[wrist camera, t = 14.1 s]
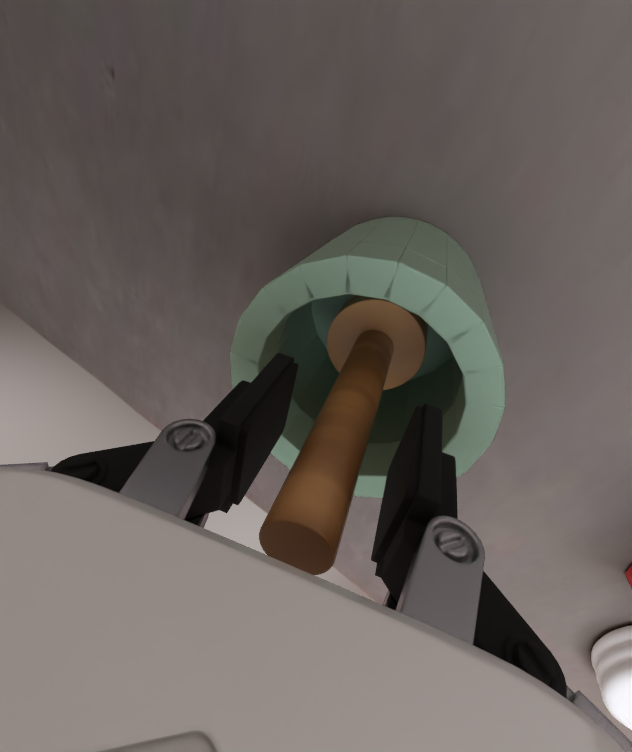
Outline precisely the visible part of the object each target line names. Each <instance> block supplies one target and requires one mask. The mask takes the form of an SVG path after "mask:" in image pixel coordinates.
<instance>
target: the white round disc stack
mask: <svg viewBox="0 0 632 752" xmlns="http://www.w3.org/2000/svg"><path fill="white" fill-rule="evenodd" d="M591 662H592V666H593V668H594V670H595V672H596V680H597V683H598V685H599V687H600V688H601V697H602V700H603V702H604V704H605V706H606V707H607V709H608V710H609V712H610V713H611V714H612V715H613V716H614V717H615V718H616V719H617V720H618V721H620V722H621V723H622V724H624V725H625V726H626V727H628V728H629V729H631V730H632V625H630V626H625V627H622V628H618V629H616V630H613V631H611V632H609V633H607V634H605V635H604V636H603V637H602V638H600V639H599V640H598V641H597V642H596V643H595V644H594V646H593V648H592V652H591Z"/></svg>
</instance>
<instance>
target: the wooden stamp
mask: <svg viewBox="0 0 632 752" xmlns="http://www.w3.org/2000/svg"><path fill="white" fill-rule="evenodd" d="M427 334H428V324H427V323H426V322H425V321H424V320H423V319H422V318H421V317H420V316H419V315H417V314H414V313H412V312H410V311H408V310H406V309H404V308H402V307H400V306H398V305H396V304H394V303H392V302H390V301H388V300H385V299H378V298H372V297H365V296H358V295H351V296H350V297H349V299H348V300H347V302H346V303H345V304H344V306H343V307H342V309H341V310H340V311H339V313H338V314H337V315H336V317H335V318H334V320H333V321H332V323H331V325H330V328H329V331H328V335H327V349H328V353H329V357H330V359H331V361H332V363H333V365H334V367H335V368H336V369H337V371H338V372H339V375H338V377H337V379H336V381H335V383H334V385H333V387H332V389H331V391H330V393H329V395H328V397H327V399H326V401H325V403H324V405H323V407H322V409H321V411H320V413H319V415H318V417H317V419H316V421H315V423H314V425H313V427H312V428H311V430H310V432H309V434H308V436H307V438H306V440H305V442H304V444H303V446H302V448H301V450H300V452H299V454H298V456H297V458H296V460H295V462H294V464H293V466H292V468H291V470H290V472H289V474H288V476H287V478H286V480H285V482H284V484H283V486H282V488H281V490H280V491H279V493H278V495H277V497H276V499H275V501H274V503H273V505H272V507H271V509H270V511H269V513H268V515H267V517H266V519H265V521H264V523H263V525H262V527H261V529H260V533H259V540H260V544H261V546H262V548H263V550H264V551H265V553H266V554H267V555H268V556H270V557H272V558H274V559H277V560H279V561H281V562H284V563H286V564H288V565H291V566H293V567H295V568H298V569H300V570H302V571H305V572H307V573H309V574H312V575H319V574H322V573H325V572H326V571H328V570H329V569H330V568H331V567H332V566H333V564H334V562H335V558H336V555H337V551H338V548H339V544H340V541H341V537H342V533H343V530H344V526H345V523H346V519H347V516H348V512H349V509H350V505H351V501H352V498H353V494H354V491H355V487H356V484H357V480H358V476H359V473H360V469H361V466H362V462H363V459H364V455H365V452H366V448H367V444H368V441H369V437H370V434H371V430H372V427H373V423H374V419H375V416H376V412H377V409H378V405H379V402H380V398H381V395H382V391H383V390H386V389H391V388H395V387H398V386H400V385H402V384H404V383H406V382H407V381H409V380H410V379H411V378H412V377H413V376H414V375H415V374H416V373H417V372H418V370H419V369H420V367H421V365H422V363H423V360H424V357H425V352H426V343H427Z"/></svg>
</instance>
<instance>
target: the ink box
mask: <svg viewBox="0 0 632 752" xmlns="http://www.w3.org/2000/svg"><path fill="white" fill-rule="evenodd" d="M625 575H626V577H627V580H628V582H629V584H630V586H631V588H632V565H631V566H630V567H629V569H628V570H627V572H625Z"/></svg>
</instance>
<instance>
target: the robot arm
mask: <svg viewBox="0 0 632 752" xmlns="http://www.w3.org/2000/svg"><path fill="white" fill-rule="evenodd" d="M297 370H298V364H297V363H294V358H293V357H290V356H287V355H284V354H281V353H277V354H276V355H275V356H274V357H273V358H272V360H271V361H270V362H269V363H268V364H267V365H266V366H265V367H264V369H263V370H262V371H261V372H260V373H259V374H258V375H257V376H256V378H255V379H254V380H253V381H252V382H251V383H250V382H247V381H245V380H242V381H241V382H239V383H238V384H237V386H236V387H235V388H234V389H233V390H232V391H231V392H230V393H229V394H228V395H227V396H226V397H225V398H224V399H223V400H222V401H221V402H220V404H219V405H218V406H217V407H216V408H215V409H214V410H213V411H212V412H211V413H210V414H209V415H208V416H207V417H206V418H205V419H204V421H200V420H196V419H182V420H178V421H174V422H172V423H171V424H169V425H167V426H166V427H165V428H164V429H163V430H162V431H161V433H160V434H159V436H158V437H157V439H156V440H155V441H153V442H147V443H142V444H136V445H130V446H124V447H118V448H112V449H107V450H101V451H95V452H89V453H84V454H79V455H75V456H72V457H69V458H67V459H65V460H62V461H61V462H59V463H58V464H57V465H55V466H54V467H49V466H48V463H47V462H44V463H28V464H8V465H0V752H632V742H631V741H630V740H629V739H628V738H627V737H626V736H625V735H624V734H623V733H622V732H621V731H620V730H619V729H618V728H617V727H616V726H615V725H614V724H613V723H612V722H611V721H610V720H609V719H608V718H607V717H606V716H605V715H604V714H603V713H602V712H601V711H600V710H599V709H598V708H597V707H596V706H595V705H594V704H593V703H592V702H590V701H589V700H588V699H587V698H586V697H585V696H584V695H583V694H582V693H581V692H580V691H577V692H575V693H574V692H573V691H572V690H571V689H570V688H569V687H568V686H567V685H566V682H565V677H564V674H563V672H562V670H561V668H560V666H559V664H558V662H557V661H556V659H555V658H554V656H553V655H552V653H551V652H550V651H549V649H548V648H547V647H546V646H545V645H544V643H543V642H542V641H541V640H540V638H539V637H538V636H537V635H536V634H535V632H534V631H533V630H532V629H531V628H530V626H529V625H528V624H527V623H526V622H525V620H524V619H523V618H522V617H521V616H520V614H519V613H518V612H517V611H516V610H515V608H514V607H513V606H512V605H511V604H510V602H509V601H508V600H507V599H506V597H505V596H504V595H503V594H502V593H501V591H500V590H499V589H498V588H497V587H496V585H495V584H494V583H493V582H492V581H491V579H490V578H489V577H488V576H487V575H486V573H485V572H484V571H483V567H484V560H485V552H484V547H483V545H482V542H481V540H480V539H479V537H478V536H477V534H476V533H475V532H474V531H473V530H472V529H471V528H470V527H469V526H468V525H466V524H465V523H463V522H462V521H460V520H458V518H457V485H456V460H455V457H454V456H452V455H449V454H446V453H444V452H442V418H443V410H442V409H440V408H437V407H434V406H432V405H429V404H426V403H425V404H424V406H423V407H421V406H418V405H417V407H416V408H415V411H414V413H413V415H412V417H411V419H410V422H409V424H408V426H407V428H406V431H405V433H404V435H403V437H402V439H401V442H400V444H399V446H398V448H397V451H396V453H395V455H394V457H393V459H392V462H391V464H390V467H389V470H388V473H387V478H386V484H385V489H384V494H383V499H382V505H381V510H380V515H379V520H378V525H377V531H376V536H375V541H374V546H373V552H372V557H371V560H372V561H374V562H376V563H377V567H376V573H375V575H376V576H378V577H381V578H382V580H383V582H384V583H385V585H386V586H387V588H388V592H387V594H386V597H385V600H384V602H383V605H381V604H379V603H376V602H374V601H372V600H369V599H367V598H365V597H363V596H360V595H358V594H356V593H353V592H351V591H349V590H346V589H344V588H342V587H340V586H337V585H335V584H333V583H330V582H328V581H326V580H323V579H321V578H319V577H316V576H314V575H312V574H309V573H307V572H305V571H302V570H300V569H298V568H295V567H293V566H291V565H288V564H286V563H284V562H281V561H279V560H277V559H274V558H272V557H270V556H267V555H265V554H263V553H260V552H258V551H256V550H253V549H251V548H249V547H246V546H244V545H242V544H239V543H237V542H235V541H232V540H230V539H227V538H225V537H223V536H220V535H218V534H216V533H213V532H211V531H209V530H206V529H204V525H205V523H206V521H207V518H208V514H209V513H210V512H214V511H217V510H221V511H223V512H226V513H227V512H228V510H229V509H230V507H231V506H232V504H236V505H238V504H239V503H240V502H241V500H242V499H243V497H244V495H245V494H246V492H247V490H248V489H249V487H250V486H251V484H252V482H253V481H254V479H255V477H256V476H257V474H258V472H259V471H260V469H261V467H262V466H263V464H264V462H265V461H266V459H267V458H268V456H269V454H270V453H271V451H272V449H273V448H274V446H275V444H276V443H277V441H278V439H279V438H280V436H281V434H282V433H283V430H284V428H285V425H286V420H287V416H288V411H289V407H290V402H291V397H292V393H293V388H294V384H295V379H296V375H297Z"/></svg>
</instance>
